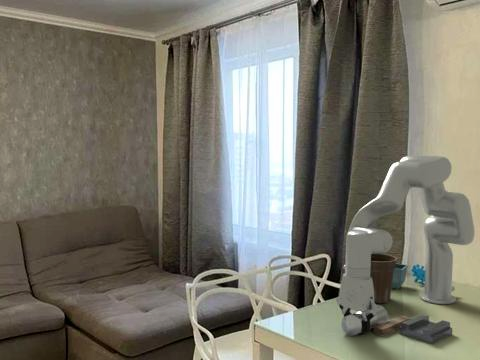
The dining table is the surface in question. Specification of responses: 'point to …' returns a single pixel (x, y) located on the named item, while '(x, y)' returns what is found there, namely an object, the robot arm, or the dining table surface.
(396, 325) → the wooden blocks
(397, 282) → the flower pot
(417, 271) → the blue spiky ball
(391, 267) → the plant pot
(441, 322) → the v block
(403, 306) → the dining table surface
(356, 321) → the axle
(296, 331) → the dining table surface
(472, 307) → the dining table surface
